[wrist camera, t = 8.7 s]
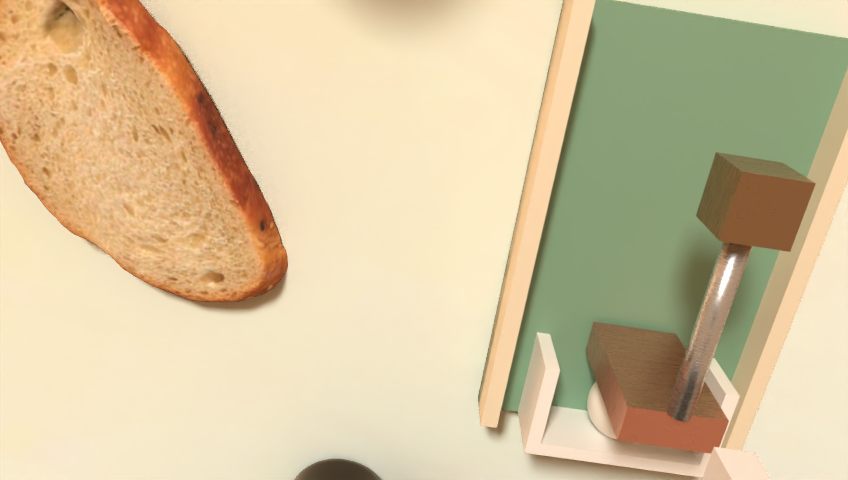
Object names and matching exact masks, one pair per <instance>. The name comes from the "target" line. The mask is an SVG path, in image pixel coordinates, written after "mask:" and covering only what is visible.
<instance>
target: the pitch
mask: <svg viewBox="0 0 848 480" xmlns="http://www.w3.org/2000/svg"><path fill="white" fill-rule="evenodd" d="M716 152H719V153H725V154H732V155H738V156H744V157H751V158H757V159H763V160H770V161H776V162H783V163H784V164H786V165H788V166H789V167H791V168H792V169H794V170H795V171H797V172H799V173H800V174H802V175H803V176H805V177H806V178H808V179H810V180H811V181H813V182H814V183H816V184H815V187H814V190H813V192H812V195H811V198H810V200H809V203H808V206H807V208H806V211H805V214H804V216H803V219H802V222H801V224H800V227H799V230H798V232H797V235H796V238H795V240H794V243H793V246H792V248H791V251H790V252H788V251H781V250H775V249H768V248H761V247H755V246H752V249H751V251H750V254H749V257H748V260H747V263H746V266H745V268H744V271H743V274H742V277H741V280H740V283H739V285H738V288H737V291H736V294H735V297H734V299H733V302H732V305H731V308H730V311H729V314H728V316H727V319H726V322H725V325H724V328H723V331H722V333H721V336H720V339H719V342H718V345H717V348H716V350H715V353H714V356H713V359H712V362H711V365H710V367H709V370H708V373H707V376H706V379H705V382H706V384H707V386H708V387H709V389H710V391H711V392H712V394H713V396H714V397H715V399H716V400H717V402H718V404H719V405H720V407H721V409H722V410H723V412H724V414H725V415H726V417H727V419H728V420H729V423H728V425H727V428H726V431H725V433H724V436H723V439H722V441H721V444H720V447H719V448H725V449H732V450H740V451H742V448H743V446H744V443H745V441H746V438H747V436H748V433H749V431H750V428H751V425H752V423H753V420H754V418H755V415H756V413H757V410H758V408H759V405H760V403H761V400H762V398H763V395H764V392H765V390H766V387H767V385H768V382H769V380H770V377H771V375H772V372H773V370H774V367H775V364H776V362H777V359H778V357H779V354H780V352H781V349H782V347H783V344H784V342H785V339H786V337H787V334H788V331H789V329H790V326H791V324H792V321H793V319H794V316H795V314H796V311H797V309H798V306H799V304H800V301H801V298H802V296H803V293H804V291H805V288H806V286H807V283H808V281H809V278H810V276H811V273H812V270H813V268H814V265H815V263H816V260H817V258H818V255H819V253H820V250H821V248H822V245H823V243H824V240H825V237H826V235H827V232H828V230H829V227H830V225H831V222H832V220H833V217H834V215H835V212H836V210H837V207H838V204H839V202H840V199H841V197H842V194H843V192H844V189H845V187H846V184H847V182H848V38H841V37H835V36H829V35H823V34H817V33H811V32H805V31H799V30H793V29H786V28H780V27H774V26H768V25H762V24H756V23H750V22H744V21H737V20H731V19H725V18H719V17H713V16H707V15H701V14H695V13H689V12H682V11H676V10H670V9H664V8H658V7H652V6H646V5H640V4H633V3H627V2H621V1H615V0H563V5H562V9H561V14H560V19H559V23H558V28H557V33H556V37H555V42H554V46H553V51H552V56H551V60H550V65H549V70H548V74H547V79H546V84H545V88H544V93H543V98H542V102H541V107H540V112H539V116H538V121H537V126H536V130H535V135H534V140H533V144H532V149H531V153H530V158H529V163H528V167H527V172H526V177H525V181H524V186H523V191H522V195H521V200H520V205H519V209H518V214H517V219H516V223H515V228H514V233H513V237H512V242H511V247H510V251H509V256H508V260H507V265H506V270H505V274H504V279H503V284H502V288H501V293H500V298H499V302H498V307H497V312H496V316H495V321H494V326H493V330H492V335H491V340H490V344H489V349H488V353H487V358H486V363H485V367H484V372H483V377H482V381H481V386H480V391H479V395H478V401H479V414H480V426H487V427H494V428H497V424H498V420H499V416H500V412H501V409H503V410H510V411H517V412H518V416H519V422H520V428H521V434H522V440H523V446H524V453H530V454H537V455H544V456H551V457H558V458H566V459H573V460H580V461H587V462H594V463H601V464H608V465H616V466H623V467H630V468H637V469H644V470H651V471H659V472H666V473H673V474H680V475H687V476H694V477H701V478H702V477H703V474H704V472H705V469H706V466H707V464H708V461H709V458H710V456H711V454H710V453H703V452H696V451H688V450H681V449H674V448H667V447H660V446H653V445H646V444H639V443H632V442H625V441H618V440H617V439H613V438H610V437H608V436H606V435H604V434H603V433H602V432H600V431H599V430H598V429H597V428H596V427H595V425H594V424H593V422H592V421H591V419H590V416H589V413H588V409H587V399H588V394H589V391H590V389H591V387H592V386H593V384H594V383H595V382H596V379H595V376H594V373H593V370H592V368H591V365H590V362H589V359H588V356H587V354H586V351H585V350H586V347H587V343H588V339H589V336H590V332H591V329H592V325H593V322H600V323H607V324H613V325H620V326H627V327H634V328H641V329H647V330H654V331H661V332H668V333H675V334H677V336H678V338H679V339H680V341H681V343H682V344H683V346H684V348H685V349H687V346H688V343H689V340H690V337H691V334H692V331H693V328H694V325H695V322H696V319H697V316H698V313H699V310H700V307H701V304H702V301H703V298H704V295H705V292H706V289H707V286H708V283H709V280H710V277H711V274H712V271H713V268H714V265H715V262H716V259H717V256H718V253H719V250H720V247H721V244H722V241H719V240H718V239H717V238H716V237H715V236H714V235H713V234H712V233H711V232H710V230H709V229H708V228H707V227H706V226H705V225H704V224H703V223H702V222H701V221H700V220H699V219H698V218H697V217H696V214H697V211H698V207H699V204H700V201H701V198H702V195H703V192H704V188H705V185H706V182H707V179H708V176H709V173H710V169H711V166H712V163H713V160H714V157H715V153H716Z"/></svg>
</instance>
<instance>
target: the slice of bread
mask: <svg viewBox="0 0 848 480" xmlns="http://www.w3.org/2000/svg"><path fill="white" fill-rule="evenodd" d="M0 141H1V143H2V145H3V146H4V148H5V150H6V152H7V154H8V156H9V158H10V160H11V162H12V163H13V164H14V165H15V166H16V167H17V169H18V171H19V172H20V174H21V176H22V177H23V179H24V182H25V184H26V185H27V186H28V187H29V188H30V189H31V190H32V191H33V192H34V193H35V194H36V195H37V196H38V198H39V199H40V201H41V202H42V203H43V205H44V206H45V207H46V208H47V210H48V211H49V212H50V213H51V214H52V215H54V216H55V217H56V218H57V219H58V221H59V222H60V223H61V224H62V225H63V226H64V227H65V228H67V229H68V230H69V231H70V232H72V233H73V234H75V235H77V236H79V237H82V238H84V239H86V240H88V241H90V242H92V243H94V244H96V245H97V246H98V247H99V248H101V249H102V250H103V251H104V252H106V253H107V254H109V255H110V256H111V257H112V258H113V259H114V260H115V261H116V262H117V263H118V264H119V265H120V266H121V267H122V268H123V269H124V270H126V271H128V272H129V273H131V274H132V275H134V276H135V277H137V278H139V279H141V280H143V281H145V282H147V283H148V284H150V285H152V286H154V287H157V288H160V289H163V290H166V291H168V292H171V293H174V294H176V295H179V296H182V297H184V298H187V299H190V300H194V301H203V302H239V301H243V300H246V299H249V298H252V297H255V296H258V295H261V294H263V293H266V292H268V291H269V290H271V289H272V288H274V287H275V286H276V285H277V284H278V282H279V281H280V280H281V278H282V277H283V275H284V274H285V272H286V270H287V267H288V261H287V254H286V250H285V248H284V246H283V245H282V243H281V240H280V235H279V232H278V230H277V227H276V225H275V223H274V220H273V217H272V214H271V211H270V208H269V205H268V204H267V202H266V201H265V199H264V198H263V196H262V194H261V192H260V189H259V187H258V185H257V182H256V180H255V178H254V177H253V175H252V174H251V173H250V171H249V170H248V168H247V167H246V165H245V163H244V161H243V158H242V156H241V155H240V153H239V151H238V149H237V148H236V146H235V144H234V143H233V141H232V139H231V137H230V135H229V133H228V130H227V129H226V127H225V125H224V123H223V121H222V119H221V117H220V115H219V114H218V112H217V110H216V108H215V106H214V104H213V102H212V101H211V99H210V97H209V95H208V93H207V92H206V90H205V88H204V87H203V85H202V83H201V82H200V80H199V79H198V77H197V76H196V74H195V72H194V71H193V69H192V68H191V66H190V65H189V63H188V62H187V60H186V58H185V56H184V55H183V53H182V51H181V49H180V48H179V46H178V45H177V43H176V42H175V41H174V40H173V38H172V37H171V36H170V34H169V33H168V32H167V31H166V30H165V29H164V28H163V27H162V26H161V25H159V24H158V23H157V22H156V21H155V20H154V19H153V18H152V16H151V15H150V14H149V13H148V11H147V10H146V9H145V8H144V6H143V5H142V4H141V2H140V1H139V0H0Z"/></svg>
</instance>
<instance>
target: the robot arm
mask: <svg viewBox="0 0 848 480" xmlns="http://www.w3.org/2000/svg"><path fill="white" fill-rule="evenodd" d="M702 480H772V479H771V477H770V476H769V474H768V473H767V471H766V469H765V468H764V466H763V465H762V463H761V461H760V460H759V458H758V456H757V455H756V453H754V452H747V451H740V450H732V449H725V448H718V447H714V448H713V450H712V453H711V456H710V458H709V461H708V464H707V466H706V469H705V472H704V474H703V477H702Z"/></svg>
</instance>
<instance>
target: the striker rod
mask: <svg viewBox="0 0 848 480" xmlns="http://www.w3.org/2000/svg"><path fill="white" fill-rule="evenodd" d="M815 184H816V183H814V182H813V181H811V180H810V179H808V178H806V177H805V176H803V175H802V174H800V173H799V172H797V171H795V170H794V169H792V168H791V167H789V166H788V165H786V164H784V163H783V162H776V161H770V160H763V159H757V158H751V157H744V156H738V155H732V154H725V153H719V152H716V153H715V157H714V160H713V163H712V166H711V169H710V173H709V176H708V179H707V182H706V185H705V188H704V192H703V195H702V198H701V201H700V204H699V207H698V211H697V214H696V217H697V218H698V219H699V220H700V221H701V222H702V223H703V224H704V225H705V226H706V227H707V228H708V229H709V230H710V232H711V233H712V234H713V235H714V236H715V237H716V238H717V239H718V240H719V241H722V244H721V247H720V250H719V253H718V256H717V259H716V262H715V265H714V268H713V271H712V274H711V277H710V280H709V283H708V286H707V289H706V292H705V295H704V298H703V301H702V304H701V307H700V310H699V313H698V316H697V319H696V322H695V325H694V328H693V331H692V334H691V337H690V340H689V343H688V346H687V349H685V348H684V346H683V344H682V343H681V341H680V339H679V338H678V336H677V334H675V333H668V332H661V331H654V330H647V329H641V328H634V327H627V326H620V325H613V324H607V323H600V322H593V325H592V329H591V332H590V336H589V339H588V343H587V347H586V350H585V351H586V354H587V356H588V359H589V362H590V365H591V368H592V370H593V373H594V376H595V379H596V382H597V385H598V387H599V390H600V393H601V396H602V399H603V401H604V404H605V407H606V410H607V413H608V415H609V418H610V421H611V424H612V427H613V430H614V432H615V435H616V438H617V440H618V441H625V442H632V443H639V444H646V445H653V446H660V447H667V448H674V449H681V450H688V451H696V452H703V453H710V454H711V453H712V450H713V448H714V447H718V448H719V447H720V444H721V441H722V439H723V436H724V433H725V431H726V428H727V425H728V423H729V420H728V419H727V417H726V415H725V414H724V412H723V410H722V409H721V407H720V405H719V404H718V402H717V400H716V399H715V397H714V396H713V394H712V392H711V391H710V389H709V387H708V386H707V384H706V382H705V379H706V376H707V373H708V370H709V367H710V365H711V362H712V359H713V356H714V353H715V350H716V348H717V345H718V342H719V339H720V336H721V333H722V331H723V328H724V325H725V322H726V319H727V316H728V314H729V311H730V308H731V305H732V302H733V299H734V297H735V294H736V291H737V288H738V285H739V283H740V280H741V277H742V274H743V271H744V268H745V266H746V263H747V260H748V257H749V254H750V251H751V249H752V246H755V247H761V248H768V249H775V250H781V251H788V252H790V251H791V248H792V246H793V243H794V240H795V238H796V235H797V232H798V230H799V227H800V224H801V222H802V219H803V216H804V214H805V211H806V208H807V206H808V203H809V200H810V198H811V195H812V192H813V190H814V187H815Z"/></svg>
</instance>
